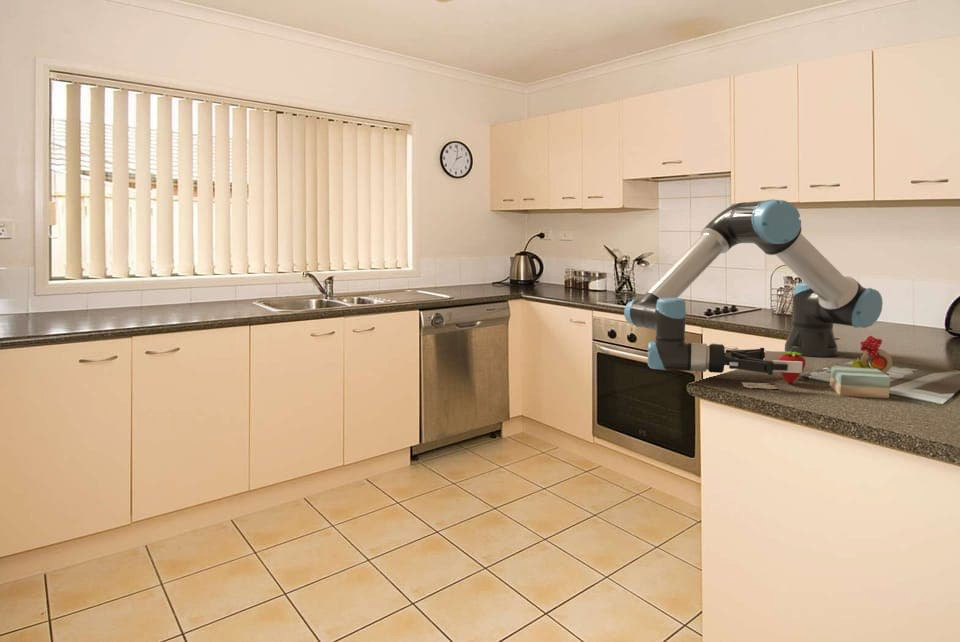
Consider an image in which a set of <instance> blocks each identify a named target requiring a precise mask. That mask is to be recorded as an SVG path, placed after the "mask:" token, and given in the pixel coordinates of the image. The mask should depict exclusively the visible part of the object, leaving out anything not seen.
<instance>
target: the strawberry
mask: <svg viewBox="0 0 960 642" xmlns="http://www.w3.org/2000/svg"><path fill="white" fill-rule="evenodd" d="M794 347H795V346H794ZM794 347H793V348H794ZM793 348H792V349H793ZM790 351H791V350H790ZM783 353H785V354H781V355H784V356H781V357H780V358H779V361H798V362H802V372H804V369H805V367H806V359H805V358H804V357H803V355H800V354H802V353H797V352H786V351H785V352H783ZM780 374H781V375H782V377H783V378H784V380H785V381H786V382H787V384H790V385H791V384H793V382H794V381H796V379H797V378H798V377H799V376H800V375H801V374H802V373H790V372H780Z"/></svg>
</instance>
